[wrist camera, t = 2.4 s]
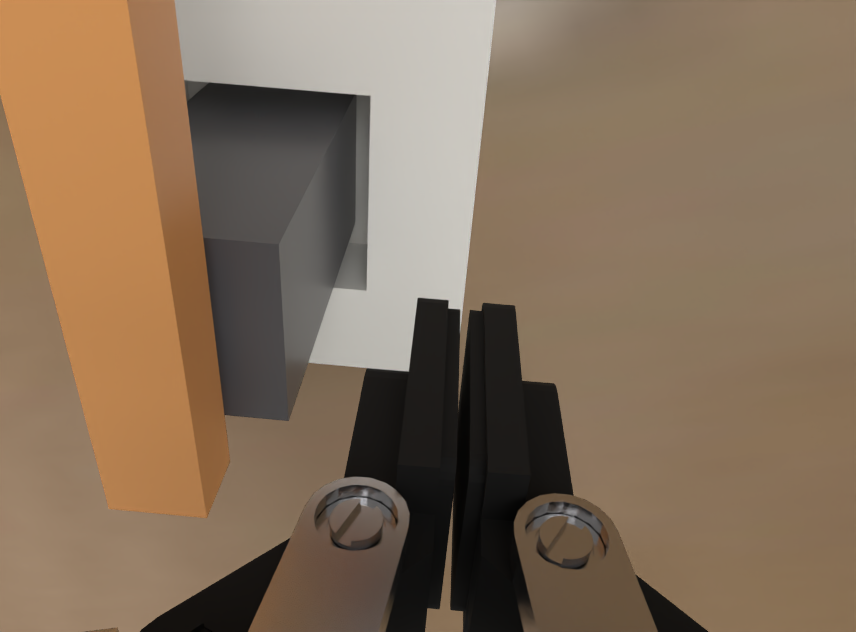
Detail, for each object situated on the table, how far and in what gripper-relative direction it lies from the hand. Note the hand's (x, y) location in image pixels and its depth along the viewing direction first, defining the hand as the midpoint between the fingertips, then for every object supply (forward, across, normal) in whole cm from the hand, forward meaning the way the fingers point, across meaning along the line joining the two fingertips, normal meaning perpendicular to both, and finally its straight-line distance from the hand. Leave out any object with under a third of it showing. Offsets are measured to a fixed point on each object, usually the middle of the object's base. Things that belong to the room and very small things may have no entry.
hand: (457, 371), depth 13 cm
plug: (+12, +6, +1) cm, 13 cm away
